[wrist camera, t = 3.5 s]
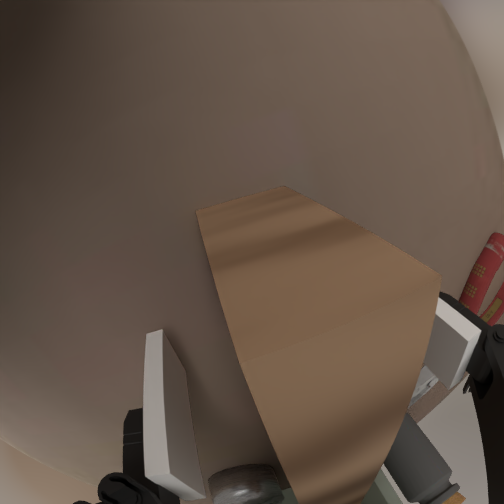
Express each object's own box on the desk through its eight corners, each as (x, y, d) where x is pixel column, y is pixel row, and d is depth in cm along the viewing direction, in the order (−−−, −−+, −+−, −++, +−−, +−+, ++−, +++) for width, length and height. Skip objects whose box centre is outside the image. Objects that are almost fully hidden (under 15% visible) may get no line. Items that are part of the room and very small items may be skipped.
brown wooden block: (195, 209, 12) (239, 363, 4) (282, 185, 13) (441, 276, 5) (276, 446, 22) (310, 526, 14) (317, 430, 22) (358, 507, 14)
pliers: (357, 402, 22) (371, 422, 20) (489, 223, 19) (511, 233, 16) (406, 408, 27) (417, 422, 25) (506, 275, 23) (521, 284, 21)
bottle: (366, 448, 28) (418, 530, 14) (372, 428, 25) (435, 523, 12) (403, 427, 29) (458, 502, 15) (413, 405, 26) (478, 489, 13)
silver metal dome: (197, 475, 21) (204, 508, 17) (264, 456, 22) (277, 490, 18) (221, 492, 24) (228, 519, 21) (278, 475, 25) (289, 502, 21)
